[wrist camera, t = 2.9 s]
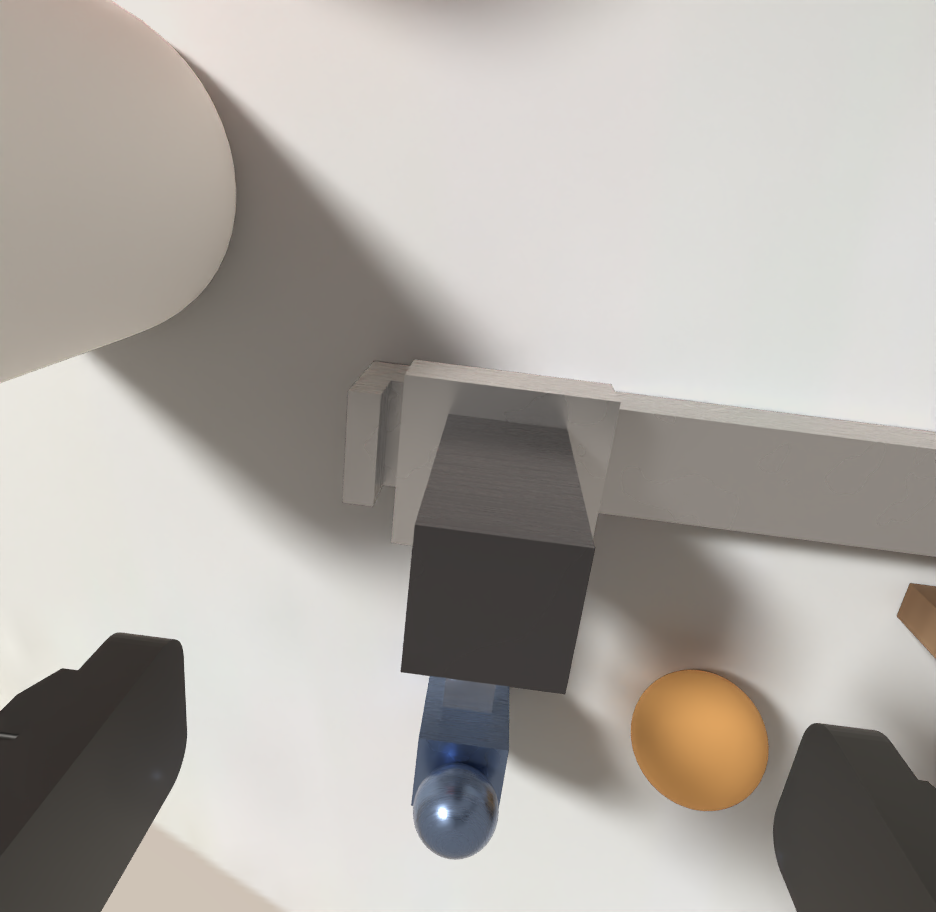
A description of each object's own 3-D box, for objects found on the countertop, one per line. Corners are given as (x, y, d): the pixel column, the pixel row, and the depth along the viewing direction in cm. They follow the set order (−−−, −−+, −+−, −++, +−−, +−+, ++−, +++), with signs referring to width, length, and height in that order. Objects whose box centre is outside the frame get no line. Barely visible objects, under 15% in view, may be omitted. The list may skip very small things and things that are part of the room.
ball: (635, 636, 22) (659, 725, 18) (757, 652, 22) (807, 745, 18) (612, 731, 23) (630, 832, 20) (727, 747, 23) (767, 851, 20)
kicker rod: (422, 345, 19) (347, 467, 10) (603, 368, 19) (677, 510, 10) (391, 691, 23) (320, 980, 14) (538, 711, 23) (552, 1014, 14)
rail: (373, 361, 19) (348, 390, 16) (1037, 444, 19) (1135, 490, 16) (367, 457, 20) (342, 502, 17) (995, 539, 20) (1079, 598, 17)
